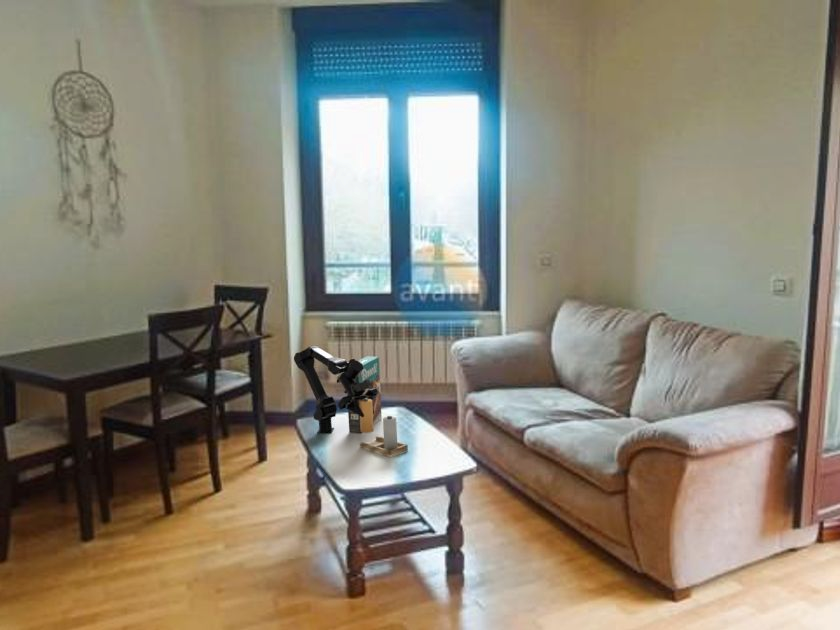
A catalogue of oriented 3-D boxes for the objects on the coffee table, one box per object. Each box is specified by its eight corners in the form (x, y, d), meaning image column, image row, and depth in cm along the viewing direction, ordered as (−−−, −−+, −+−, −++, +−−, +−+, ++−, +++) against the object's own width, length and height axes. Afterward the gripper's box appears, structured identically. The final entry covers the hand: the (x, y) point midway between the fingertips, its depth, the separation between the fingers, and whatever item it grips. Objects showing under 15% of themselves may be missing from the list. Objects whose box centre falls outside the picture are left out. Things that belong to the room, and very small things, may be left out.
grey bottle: (385, 446, 280) (383, 414, 278) (398, 446, 280) (396, 414, 277) (383, 451, 275) (381, 418, 273) (396, 451, 274) (395, 418, 272)
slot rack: (359, 448, 283) (359, 442, 282) (377, 441, 290) (377, 435, 290) (390, 457, 271) (390, 451, 270) (407, 450, 278) (407, 444, 277)
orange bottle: (359, 429, 287) (358, 397, 285) (371, 427, 288) (370, 396, 286) (361, 433, 282) (360, 401, 280) (374, 431, 283) (373, 399, 281)
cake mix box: (361, 433, 301) (358, 367, 296) (349, 432, 303) (345, 366, 298) (381, 418, 321) (378, 356, 316) (370, 417, 323) (367, 356, 318)
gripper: (341, 378, 277) (360, 409, 272) (374, 369, 291) (393, 399, 285) (329, 393, 284) (348, 424, 278) (363, 384, 297) (381, 413, 292)
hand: (368, 415), depth 283 cm, fingers closed on orange bottle, 5 cm apart
